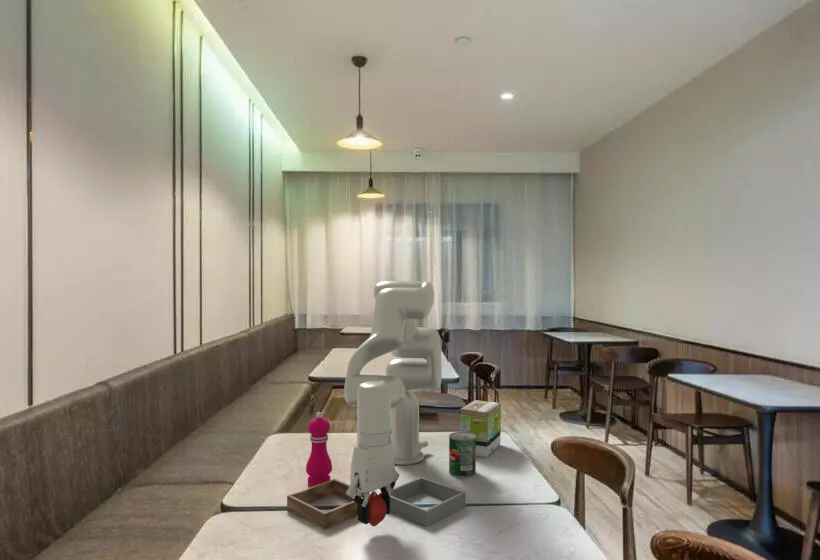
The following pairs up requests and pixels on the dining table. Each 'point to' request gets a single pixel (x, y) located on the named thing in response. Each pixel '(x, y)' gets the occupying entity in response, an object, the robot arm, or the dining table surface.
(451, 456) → the canned tomato
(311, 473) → the pepper mill
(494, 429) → the tea box
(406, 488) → the grey bin
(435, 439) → the dining table surface
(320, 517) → the walnut bin
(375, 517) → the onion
